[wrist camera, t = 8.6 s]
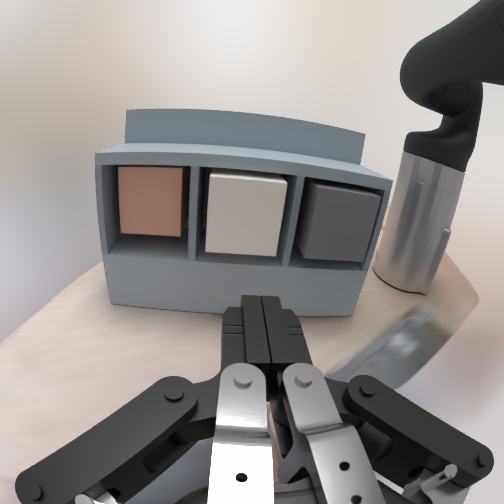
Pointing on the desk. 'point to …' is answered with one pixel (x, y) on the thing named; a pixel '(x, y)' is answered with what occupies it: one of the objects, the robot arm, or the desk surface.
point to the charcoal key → (335, 220)
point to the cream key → (244, 211)
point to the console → (194, 232)
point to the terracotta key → (153, 199)
